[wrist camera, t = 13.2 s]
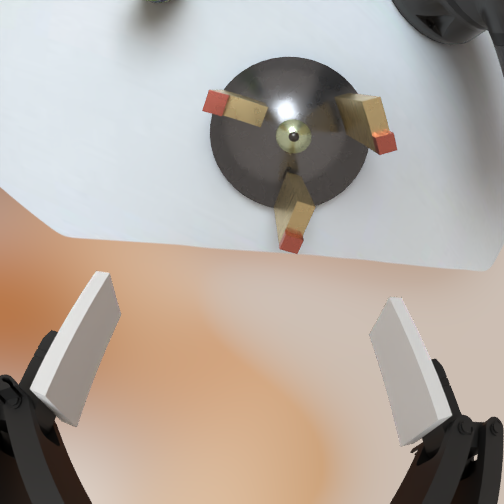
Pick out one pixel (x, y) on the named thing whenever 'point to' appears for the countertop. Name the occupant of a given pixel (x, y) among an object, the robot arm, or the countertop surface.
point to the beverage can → (157, 1)
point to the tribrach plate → (288, 132)
